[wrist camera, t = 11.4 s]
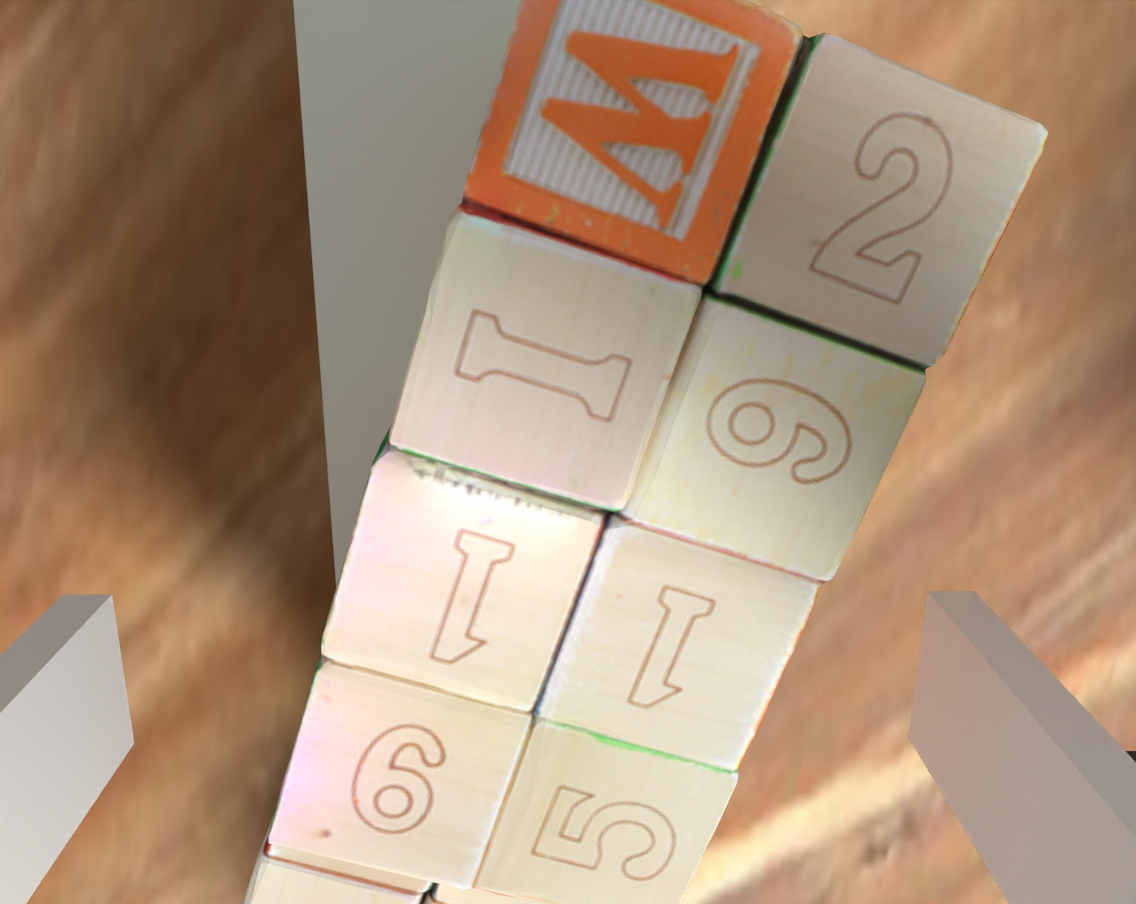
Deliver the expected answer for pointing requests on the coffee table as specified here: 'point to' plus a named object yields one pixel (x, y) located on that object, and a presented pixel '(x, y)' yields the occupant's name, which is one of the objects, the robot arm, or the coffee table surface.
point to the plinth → (383, 195)
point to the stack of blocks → (629, 448)
